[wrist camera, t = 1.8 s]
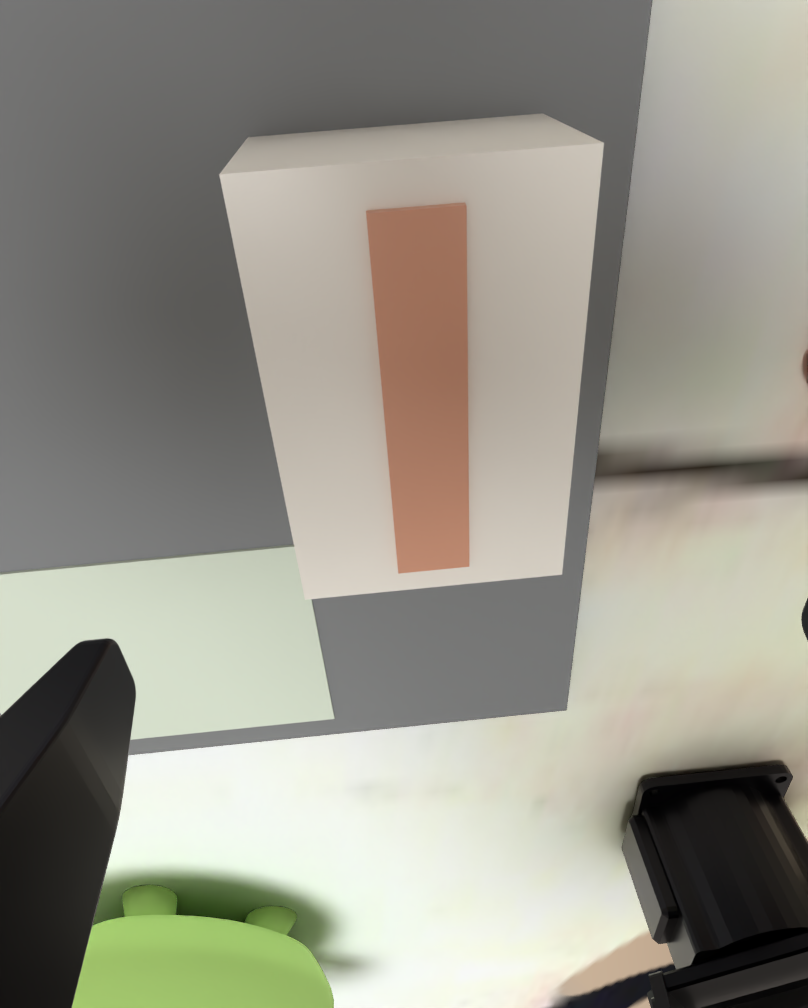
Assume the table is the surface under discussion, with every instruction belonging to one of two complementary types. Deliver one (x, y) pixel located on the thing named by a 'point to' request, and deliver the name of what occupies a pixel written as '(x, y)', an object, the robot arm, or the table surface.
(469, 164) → the box
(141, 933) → the teapot
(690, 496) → the table surface
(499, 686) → the mat
